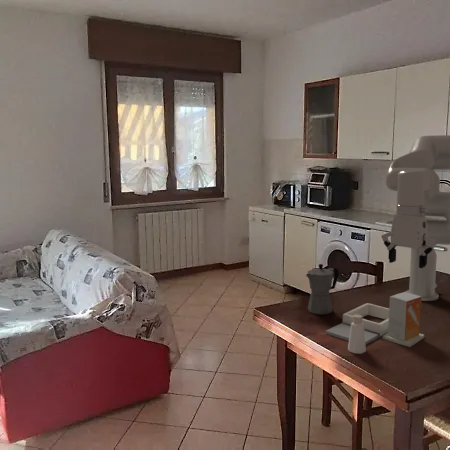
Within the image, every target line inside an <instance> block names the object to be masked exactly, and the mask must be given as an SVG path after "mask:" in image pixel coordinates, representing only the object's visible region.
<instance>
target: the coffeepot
mask: <svg viewBox="0 0 450 450" xmlns="http://www.w3.org/2000/svg"><path fill="white" fill-rule="evenodd" d="M323 264H324V263H319V264H318V268H312V269H310V270H308V271H307V274H306V275H305V277H307V278H308V281H309V283H308V284H309V289H310V291H311V293H310V295H309V298H308V299H309V301H308V306H307V310H308V311H309V313H312V314H314V315H328V314H331V313H332V312H333V304H332V298H331V293H330V290H333V289H336V286H337V281H338V277H339V275H340V271H339V270H338V268H337V267H329V268H327V269H326V268H323V267H324V265H323Z"/></svg>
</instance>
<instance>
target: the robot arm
mask: <svg viewBox="0 0 450 450" xmlns="http://www.w3.org/2000/svg"><path fill="white" fill-rule="evenodd" d="M435 170H437V171H438V170H440V171H441V170H442V171H444V170H446V171H450V135H449V134H445V135H442V134H440V135H437V134H436V135H423V136H420V137H418V138H416V139H415V140H414V142H413V143H412V146H411V149H410V151H409V152H408V153H406V154H404V155H402V156H399V157H397V158H396V159H394V160H393V161H392V162H391V163H390V165H389V167H388V170H387V172H386V176H385V185H386V187H387V189H388V190H389V191H391V192H392V191H393V192H396V213H394V215H393V218H392V219H393V220H392V223H391V228H390V231H389V232H386V233H383V234H382V235H381V239H382V241H383V244H384V246H385V247H386V250H387V251H388V263H389V264H392V263H395V262H396V261H397V249H396V247H401V248H402V247H404V248H408V249H410V262H409V263H410V264H409V265H410V266H409V270H410V271H409V283H408V284H409V285H408V286H409V288H408V289H407V290H406V291H404V292H407V293H411V294H414V295H418V296H421V297H422V299H421V302H433V301H437V300H438V299H439V294H438V293H437V292H436V288H437V287H438V284H437V283H436V277H437V276H436V273H437V257H438V256H437V253H436V250H435V248H436V246H437V245H443V246H444V245H445V246H450V192H449V191H444V192H443V191H440V184H441V183H440V182H441V180H440V177H439V175H438V174H437V172H436V171H435ZM426 217H440V218H441V217H442V218H445V220H444V219H431V218H426ZM389 237H390V240H389Z"/></svg>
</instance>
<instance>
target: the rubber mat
mask: <svg viewBox="0 0 450 450" xmlns="http://www.w3.org/2000/svg"><path fill="white" fill-rule="evenodd" d="M424 338H425V334H423V333H420V332H419V335H418V336H415V337H412V338H410V339H407V340H405V341H404V340H401V339H398V338H395V337H393V336H390V335H388V332H387V333H385V334H384V335H382V340H385V341H389V342H392V343H395V344H398V345H401V346H405V347H408V348H412V347H413V346H414V345H415V344H417V343H419V342H420V341H421V340H423V339H424Z"/></svg>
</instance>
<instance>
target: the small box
mask: <svg viewBox="0 0 450 450" xmlns="http://www.w3.org/2000/svg"><path fill="white" fill-rule="evenodd" d="M421 299H422V297H421V296H418V295H414V294H411V293H407V292H405V291H404V292H400V293H396V294H393V295H391V296H389V307H388V308H389V325H388V332H387V333H388V335H390V336H393V337H395V338H398V339H401V340H404V341H405V340H407V339H410V338H412V337H415V336H418V335H419V333H420V332H421V331H420V330H421V327H420V326H421V314H422V313H421V312H422V301H421Z"/></svg>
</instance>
